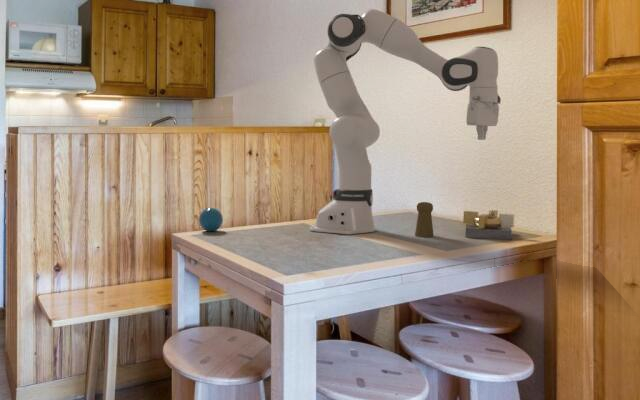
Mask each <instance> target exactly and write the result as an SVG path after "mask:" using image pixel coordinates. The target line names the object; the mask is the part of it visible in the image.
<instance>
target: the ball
mask: <svg viewBox="0 0 640 400" xmlns="http://www.w3.org/2000/svg"><path fill="white" fill-rule="evenodd" d="M223 222H224V217H223V214H222V213H221V212H220V210H219V209H217V208H214V207H208V208H205V209H203V210H201V212H200V214H199V217H198V223H199V225H200V227H201V229H203V230H204V231H206V232H209V233H210V232H211V233H212V232H216V231H218V230H219V229H221V227H222V225H223Z"/></svg>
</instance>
